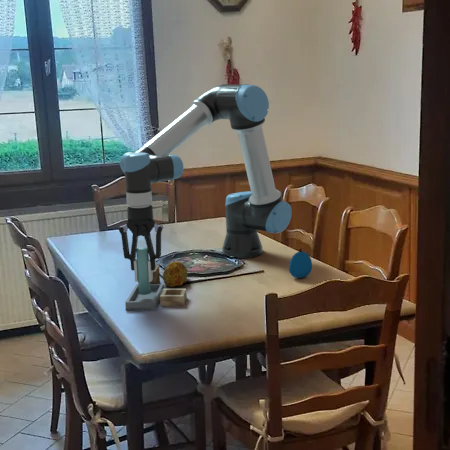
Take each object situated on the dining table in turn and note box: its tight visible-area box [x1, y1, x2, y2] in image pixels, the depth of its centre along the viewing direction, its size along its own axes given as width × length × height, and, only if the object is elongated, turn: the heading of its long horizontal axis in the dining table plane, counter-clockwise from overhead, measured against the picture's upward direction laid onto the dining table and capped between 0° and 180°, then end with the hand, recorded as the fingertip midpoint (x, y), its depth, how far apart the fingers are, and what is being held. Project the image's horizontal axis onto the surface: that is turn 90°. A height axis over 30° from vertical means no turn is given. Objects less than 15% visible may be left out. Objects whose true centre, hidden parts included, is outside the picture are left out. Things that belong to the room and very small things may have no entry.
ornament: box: [288, 248, 313, 279], centre depth 230 cm, size 8×5×10 cm, turn 111°
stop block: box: [150, 264, 161, 284], centre depth 227 cm, size 3×7×6 cm, turn 175°
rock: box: [162, 261, 188, 288], centre depth 229 cm, size 11×8×10 cm
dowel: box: [136, 246, 151, 295], centre depth 211 cm, size 4×4×14 cm
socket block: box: [159, 288, 188, 307], centre depth 212 cm, size 7×7×3 cm
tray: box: [124, 283, 165, 311], centre depth 213 cm, size 9×17×2 cm, turn 175°
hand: (144, 280), depth 212 cm, fingers closed on dowel, 3 cm apart
